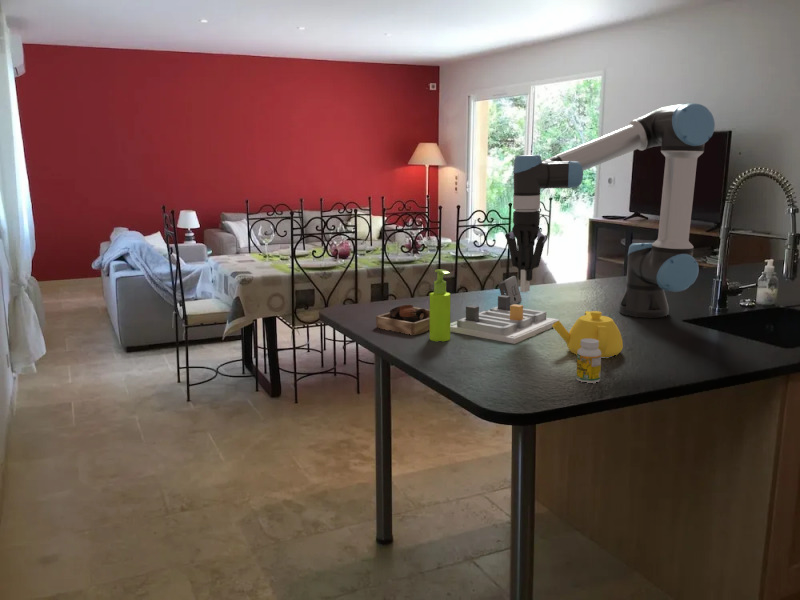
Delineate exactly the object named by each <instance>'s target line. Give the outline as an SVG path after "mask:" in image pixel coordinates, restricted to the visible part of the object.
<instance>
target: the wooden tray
mask: <svg viewBox="0 0 800 600" xmlns="http://www.w3.org/2000/svg"><path fill="white" fill-rule="evenodd" d="M413 309H415V310H418V309H423V307H416V306H413ZM425 309H426V310H427V313H428V314H429V315H428V318H427V319H423V320H420V321H417V322H414V323H413V322H407V321H402V320H397V319H391V318H389V317H390V315H391V314H390V311H389V312H385V313H382V314H378V315H376V317H375V323H376V324H375V326H376V328H377V327H378V328H377V329H379V328H380V330H384V329H385V330H386V331H389V330H392V331H391V332H394V331H397V332H396V333H399V332H401V333H400V334H404V333H405V334H404V335H409V334H410V335H411V336H416V335H420V334H422V333H425V332H428V330H429V331H430V309H428V308H425ZM415 315H416V313H415ZM423 316H424V314H423V313H422V314H421V315H420V319H422V318H423Z"/></svg>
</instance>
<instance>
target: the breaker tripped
mask: <svg viewBox="0 0 800 600" xmlns="http://www.w3.org/2000/svg"><path fill="white" fill-rule="evenodd" d="M523 309H524V305H523V304H518V303H517V304H513V305H510V319H513V320H519V321H520V320H522V319H523Z"/></svg>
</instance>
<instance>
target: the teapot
mask: <svg viewBox="0 0 800 600" xmlns="http://www.w3.org/2000/svg"><path fill="white" fill-rule="evenodd" d="M602 314H603V312H601V311H599V310H597V311H596V310H593V311H591V310H588V311H584V315H581V316H580V317H578V318H577V319H576V321H575V322H574V323H573V326H572V327H571V328H570V330H569V331H568V329H566V328H565V326H564V325H563V324H562V322H561V320H560V321H557V322H555V323H554V324H553V325H552V328H553V329H554V330H555V331H556V333H558V335H559V336H560V337H561V338H562V340H563V341H564V342H565V343H566V346H567V348H568V350H569V351H570V352H571V353H572V354H573V353H574V354H573V355H575V354H576V355H575V356H577V351H578V349H580V348H581V345H580V344H581V339H586V338H590V339H596V340H598V341H599V346H598V349H599V350H600V351H601V357H610V356H614V355H616V356H618V355H619V353H621V352H622V350H623V348H624V344H623V343H624V342H623V337H622V334H621V331H620V329H619V327H618V326H617V324H616V322H615V320H614V319H613V318H611V317H610V316H606V315H602Z"/></svg>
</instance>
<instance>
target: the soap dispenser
mask: <svg viewBox="0 0 800 600" xmlns="http://www.w3.org/2000/svg"><path fill="white" fill-rule="evenodd" d="M434 272H435V273H436V279H435V280H434V281H433V288H434V289H433V292H430V293H429V310H430V330H429V340H430V341H433V342H438V341H442V342H448V341H450V340H451V332H450V323H451V293H450V292H447V281H446V280H444V276H448V275H451V272H449V271H448V270H446V269H442V268H441V269H434Z"/></svg>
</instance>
